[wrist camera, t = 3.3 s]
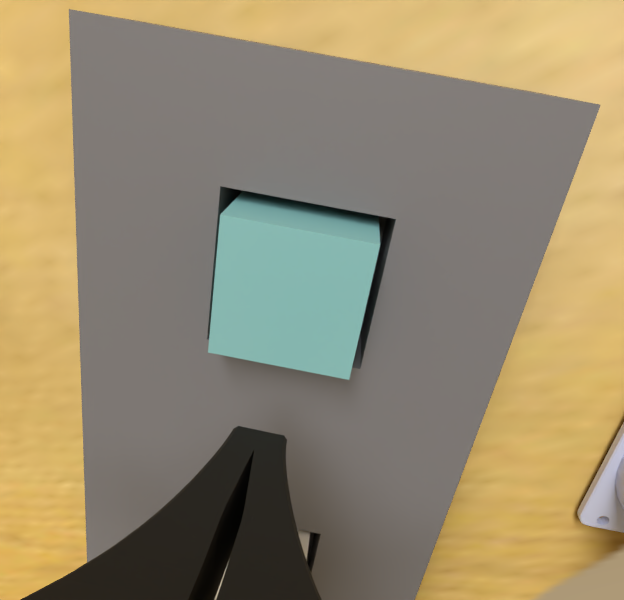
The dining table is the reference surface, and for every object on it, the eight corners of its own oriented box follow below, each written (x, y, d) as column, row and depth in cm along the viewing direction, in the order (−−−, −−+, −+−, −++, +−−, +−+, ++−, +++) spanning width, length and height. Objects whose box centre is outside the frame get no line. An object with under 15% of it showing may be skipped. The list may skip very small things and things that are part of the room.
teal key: (378, 213, 17) (380, 244, 14) (352, 330, 19) (349, 379, 16) (245, 188, 17) (220, 214, 14) (232, 307, 19) (207, 352, 16)
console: (551, 95, 17) (600, 104, 13) (379, 608, 28) (381, 689, 24) (131, 20, 17) (68, 9, 14) (125, 556, 28) (89, 628, 25)
